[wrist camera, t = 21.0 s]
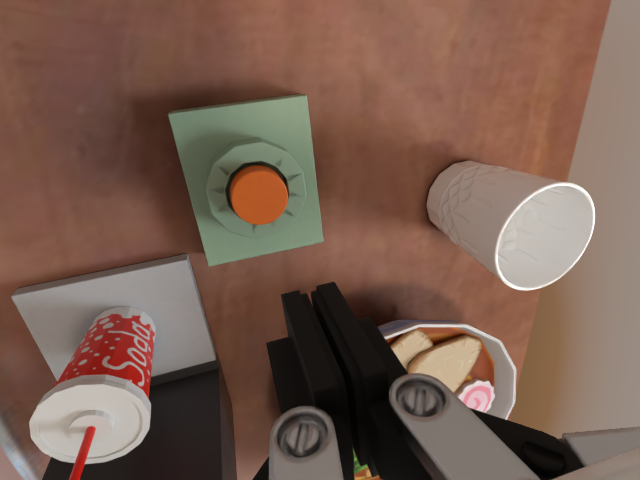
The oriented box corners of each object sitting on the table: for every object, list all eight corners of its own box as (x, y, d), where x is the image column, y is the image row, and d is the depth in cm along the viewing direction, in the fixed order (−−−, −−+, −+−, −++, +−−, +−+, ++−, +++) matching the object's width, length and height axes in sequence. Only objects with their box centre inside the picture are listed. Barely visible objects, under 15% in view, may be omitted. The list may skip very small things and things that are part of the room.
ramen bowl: (454, 430, 48) (497, 494, 40) (275, 477, 42) (289, 560, 35) (487, 253, 38) (553, 296, 30) (258, 286, 32) (272, 347, 25)
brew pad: (170, 110, 25) (164, 116, 22) (300, 93, 27) (313, 96, 24) (208, 254, 30) (208, 278, 26) (316, 232, 32) (330, 251, 28)
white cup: (410, 175, 32) (487, 214, 23) (491, 139, 33) (595, 162, 24) (429, 250, 36) (502, 308, 27) (501, 216, 36) (595, 261, 27)
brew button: (224, 169, 24) (225, 175, 23) (279, 160, 25) (283, 166, 23) (235, 220, 26) (237, 230, 24) (287, 211, 26) (291, 219, 25)
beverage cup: (181, 339, 31) (161, 515, 19) (112, 375, 31) (46, 578, 18) (136, 284, 28) (78, 447, 16) (60, 322, 28) (-60, 520, 15)
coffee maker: (17, 287, 27) (-465, 820, 8) (187, 253, 30) (144, 596, 10) (100, 444, 34) (-41, 922, 15) (232, 406, 37) (257, 778, 17)
